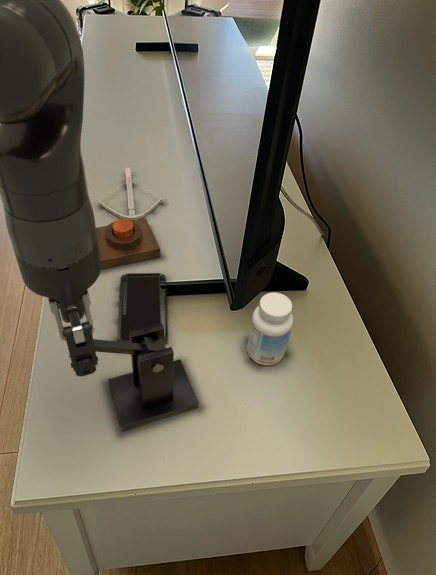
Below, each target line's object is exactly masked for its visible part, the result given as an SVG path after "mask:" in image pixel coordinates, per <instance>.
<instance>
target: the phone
mask: <svg viewBox="0 0 436 575" xmlns="http://www.w3.org/2000/svg"><path fill="white" fill-rule="evenodd" d="M160 284H166V285H167V276H166V275H165V274H164V273H161V272H143V273H142V272H141V273H140V272H137V273H136V272H135V273H134V272H133V273H124V274H122V275H121V276H120V281H119V295H118V298H119V302H118V316H117V318H118V319H117V333H116V334H117V335H116V338H117V341H119V342H129V343H130V336H129V331H133V330H137V329H141V328H145V327H149V326H153V325H157V324H161V323H162V324H163V327H164V344H165V345H166V344H167V343H168V341H169V340H168V339H169V333H168V303H167V300H168V298H167V297H168V296H167V287H166V288H165V289H162V288H161V287H160Z"/></svg>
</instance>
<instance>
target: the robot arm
mask: <svg viewBox="0 0 436 575" xmlns="http://www.w3.org/2000/svg"><path fill="white" fill-rule="evenodd" d="M82 44H83V43H82V40H81V37H80V33H79V31H78V28H77V25H76V23H75V20H74V18H73V16H72V14H71V13H70V10H68V8H67V6H66V5H65V4H64V2H63V1H62V0H0V200H1V203H2V206H3V212H4V221H5V225H6V230H7V233H8V236H9V239H10V244H11V246H12V249H13V253H14V256H15V259H16V263H17V266H18V269H19V272H20V276H21V278H22V281H23V283H24V285H25V286H26V287H27V288H28V290H30V291H31V292H32V293H34V294H36V295H38V296H41V297H44V298H47V301H48V305H49V309H50V312H51V314H52V315H54V317H55V321H56V322H55V323H56V326H57V330H58V334H59V338H60V340H61V341H65V342H66V345H67V350H68V352H67V355H68V358H70V368H71V369H73V372H74V373H75V376H77V377H80V378H82V377H86V376H89V375H93V374H94V373H96V371H97V366H98V365H99V356H98V355H97V352H96V351H95V346H94V341H93V339H94V336H93V333H94V332H95V326H94V323H93V322H94V321H93V317H92V313H91V309H90V306H91V304H92V302H91V296H90V293H89V290H88V289H90V288H91V287H92V286H93V285H94V284H95V283H96V282H97V280H98V279H99V277H100V274H101V272H102V269H101V260H100V253H99V246H98V239H97V232H96V228H97V226H96V220H95V213H94V209H93V206H92V202H91V199H90V196H89V195H90V194H89V189H88V183H87V177H86V169H85V163H84V159H83V154H82V131H83V123H84V105H85V104H84V103H85V58H84V51H83V50H84V48H83V45H82ZM84 317H85V319H86V321H84V322H81V320H82V319H83V318H84ZM63 322H65V323H67V324H69V323H70V325H67V326H64V325H63Z"/></svg>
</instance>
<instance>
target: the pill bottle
mask: <svg viewBox="0 0 436 575" xmlns="http://www.w3.org/2000/svg"><path fill="white" fill-rule="evenodd" d="M292 309H293V304H292V301H291V299H290V298H289V297H288V296H286V295H285V294H283V293H280V292H268V293H266V294H264V295H263V296H261V298H260V300H259V304H258V305H257V307H255V309H254V310H253V313H252V316H251V322H250V327H249V333H248V339H247V345H246V351H247V354H248V356H249V358H250V359H251V360H252V361H254V362H255V363H257V364H259V365H261V366H262V365H263V366H273V365H276V364H278V363H279V362H281V361H282V359H283V358H284V356H285V353H286V350H287V346H288V343H289V340H290V335H291V332H292V329H293V325H294V317H293V314H292V311H293V310H292Z"/></svg>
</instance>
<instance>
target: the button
mask: <svg viewBox="0 0 436 575" xmlns="http://www.w3.org/2000/svg"><path fill="white" fill-rule="evenodd" d="M114 221H115V222H114ZM114 221H113V222H114V223H113V234H114V236H115V237H117V238H120V239H126V238H130V237H131V236H132V235H133V233H134V232H133V223H132V222H131V221H132V220H131V221H130V220H127V219H122V218H119V219H116V220H114Z"/></svg>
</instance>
